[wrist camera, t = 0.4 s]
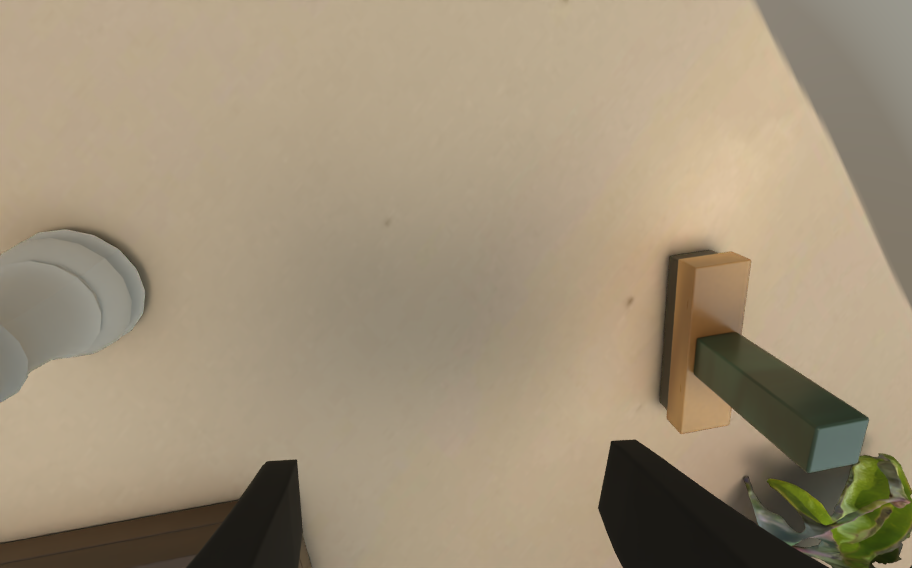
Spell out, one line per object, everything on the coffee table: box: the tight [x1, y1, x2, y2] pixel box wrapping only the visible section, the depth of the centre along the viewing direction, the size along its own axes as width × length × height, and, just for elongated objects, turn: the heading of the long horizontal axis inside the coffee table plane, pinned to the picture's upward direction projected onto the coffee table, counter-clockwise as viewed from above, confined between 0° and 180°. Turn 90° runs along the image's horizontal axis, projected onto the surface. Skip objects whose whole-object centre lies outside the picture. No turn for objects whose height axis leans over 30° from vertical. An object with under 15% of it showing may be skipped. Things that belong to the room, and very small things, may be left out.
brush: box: [660, 250, 869, 473], centre depth 19 cm, size 8×2×8 cm, turn 6°
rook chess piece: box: [0, 229, 145, 402], centre depth 14 cm, size 4×4×8 cm
